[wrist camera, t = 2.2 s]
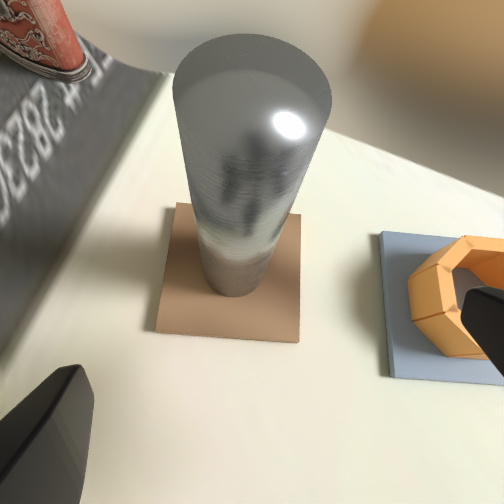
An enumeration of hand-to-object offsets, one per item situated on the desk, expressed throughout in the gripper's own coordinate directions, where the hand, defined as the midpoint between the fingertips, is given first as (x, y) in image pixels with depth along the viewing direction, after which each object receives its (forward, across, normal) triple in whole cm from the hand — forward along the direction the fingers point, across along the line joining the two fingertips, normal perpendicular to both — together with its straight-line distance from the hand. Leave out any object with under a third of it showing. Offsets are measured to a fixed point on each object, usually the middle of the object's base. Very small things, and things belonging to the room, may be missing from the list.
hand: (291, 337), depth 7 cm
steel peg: (+12, 0, +4) cm, 12 cm away
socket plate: (+9, -13, +8) cm, 18 cm away
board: (+12, 0, +5) cm, 13 cm away
